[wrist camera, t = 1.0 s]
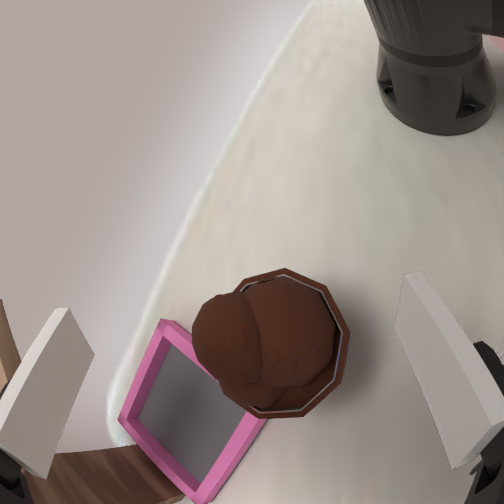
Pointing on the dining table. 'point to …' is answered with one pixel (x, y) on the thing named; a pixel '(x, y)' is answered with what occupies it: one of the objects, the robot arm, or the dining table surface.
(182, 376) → the seat plate
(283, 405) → the ice cream bowl
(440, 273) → the dining table surface
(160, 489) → the display shelf
